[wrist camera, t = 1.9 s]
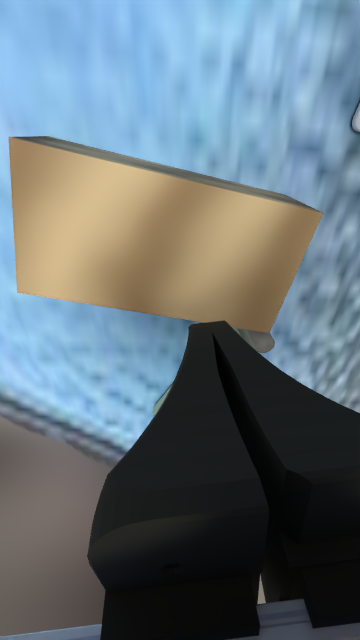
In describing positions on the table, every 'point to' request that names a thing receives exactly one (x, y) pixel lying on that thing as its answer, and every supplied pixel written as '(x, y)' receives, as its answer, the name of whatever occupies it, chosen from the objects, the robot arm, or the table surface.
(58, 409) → the table surface
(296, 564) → the robot arm
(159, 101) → the table surface
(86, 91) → the table surface
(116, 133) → the table surface
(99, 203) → the tan wooden crate
